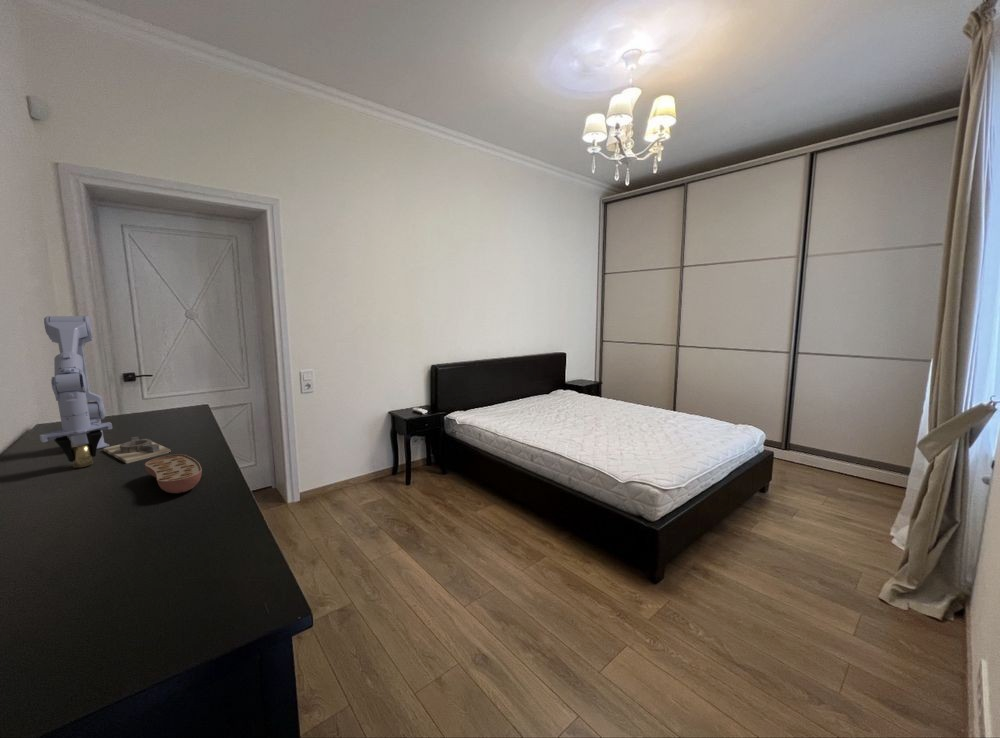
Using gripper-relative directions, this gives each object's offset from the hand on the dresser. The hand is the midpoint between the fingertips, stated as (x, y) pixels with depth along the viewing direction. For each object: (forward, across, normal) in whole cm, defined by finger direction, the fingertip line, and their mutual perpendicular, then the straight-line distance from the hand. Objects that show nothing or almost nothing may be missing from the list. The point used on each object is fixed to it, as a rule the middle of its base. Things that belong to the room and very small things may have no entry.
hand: (82, 458), depth 118 cm
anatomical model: (+3, +10, -37) cm, 38 cm away
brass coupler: (+2, 0, 0) cm, 2 cm away
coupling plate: (+2, +13, +2) cm, 13 cm away
